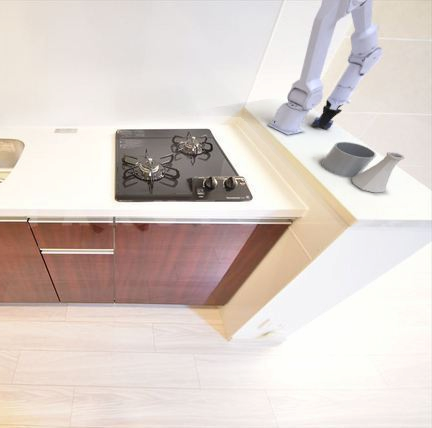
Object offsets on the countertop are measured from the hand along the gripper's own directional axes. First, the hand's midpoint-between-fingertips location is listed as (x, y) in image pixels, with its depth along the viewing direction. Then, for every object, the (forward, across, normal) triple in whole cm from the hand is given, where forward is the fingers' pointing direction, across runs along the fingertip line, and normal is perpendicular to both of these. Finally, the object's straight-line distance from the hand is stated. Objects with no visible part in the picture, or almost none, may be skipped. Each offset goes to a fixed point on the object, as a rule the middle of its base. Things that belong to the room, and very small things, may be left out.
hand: (322, 122), depth 93 cm
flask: (+2, -38, -16) cm, 41 cm away
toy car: (+2, 0, 0) cm, 2 cm away
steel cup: (+2, -32, -9) cm, 33 cm away
